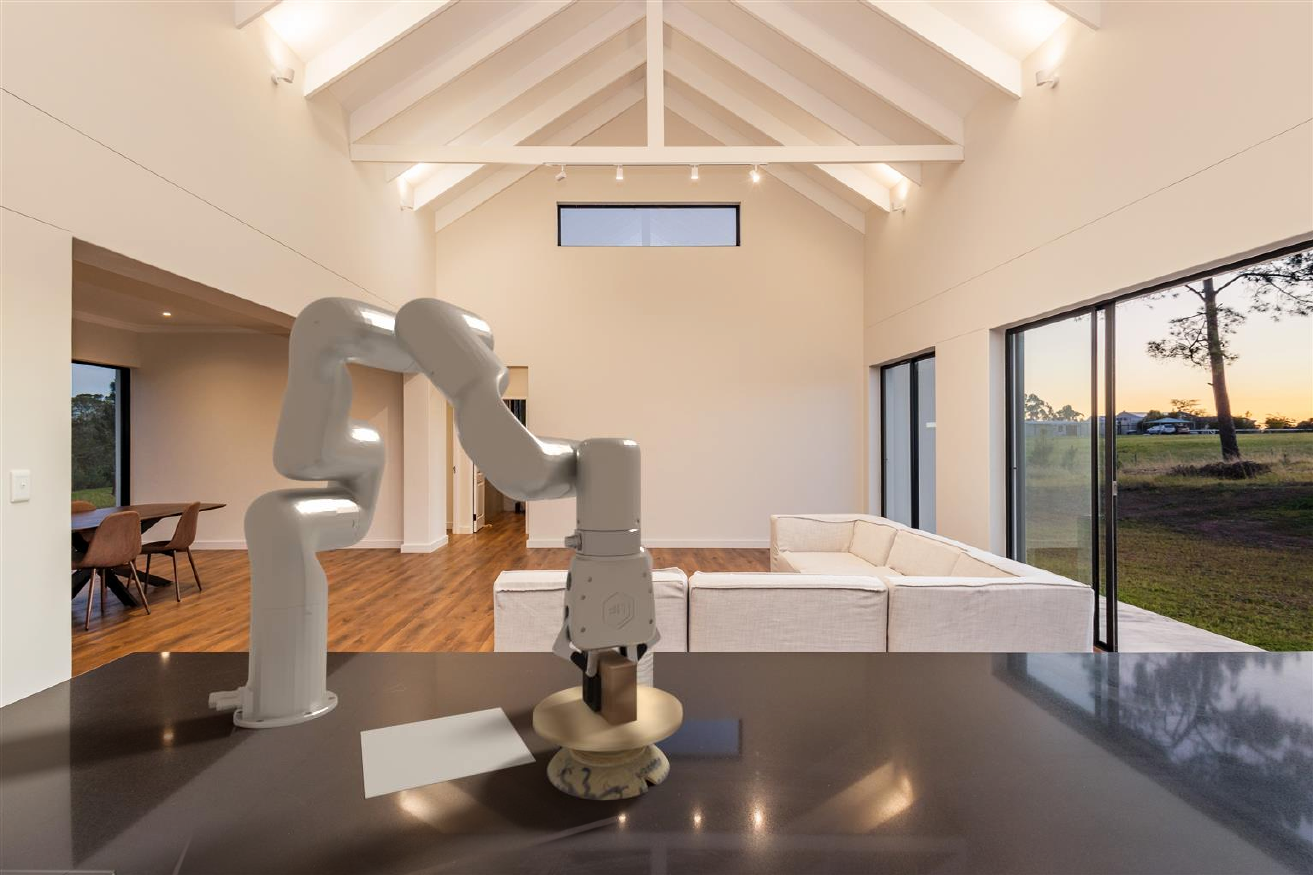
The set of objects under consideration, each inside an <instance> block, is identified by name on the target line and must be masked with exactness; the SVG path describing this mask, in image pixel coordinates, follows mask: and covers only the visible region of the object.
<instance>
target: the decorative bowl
mask: <svg viewBox="0 0 1313 875" xmlns="http://www.w3.org/2000/svg"><path fill="white" fill-rule="evenodd" d="M670 768H671V766H670V763H669V760H668V759H667V757H666V755H665V754H664V752H662V750H661V749H660V748H659V747H658V746H656V745H655V743H653V744H650V745H647V746H643V747H639V748H634V749H628V750H620V751H584V750H576V749H571V748H566V747H562V748H561V749H559V750H558V751H557V752H556V753H555V754H554V755H553V757H552V758H551V760H550V761H549V763H548V765H547V768H546V775H547V778H548V780H549V781H550V783H551V784H552V785H553V786H554V787H555V788H557V789H558V790H559V791H561V792H563V793H565V794H567V795H570V796H573V797H576V798H580V799H587V800H593V801H611V800H612V801H613V800H621V799H628V798H632V797H637V796H639V795H641V794H645V793H647V792H649V788H648V785H647V782H646V780H647V781H649V782H651V783H652V784H654V785H656V786H658V785H661V783H662V782H663V781H664V780H665V779H666V778H667V777H668V774H669V772H670Z"/></svg>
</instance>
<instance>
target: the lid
mask: <svg viewBox="0 0 1313 875" xmlns="http://www.w3.org/2000/svg"><path fill="white" fill-rule="evenodd" d="M597 669H598V675H599V676H600V677H601V710H600V711H599V712H594V711H593V710H592V709H591V708H590V707H589V706H588V705H587V704H586V703H585V702H584V701H583V696H582V685H579V686H574V687H569V688H566V689H563V690H560V691H558V692H555V693H552V694H551V695H548V696H547V697H545V698H543V699H542V700H541V701H539V703H537V705H536V706H534V710H533V712H532V726H533V727H532V728H533V729H534V731H535V733H536V734H537V735H538V737H540V738H542V739H543V740H544V741H547V742H549V743H551V744H553V745H556V746H559V747H562V748H563V747H566V748H571V749H576V750H584V751H620V750H628V749H634V748H639V747H643V746H647V745H650V744H656V743H659V742H661V741H663V740H665V739H667V738H669V737H671V736H672V735H673V734H675V733H676V732H677V731H678V730H679V728H680V727H681V725H682V723H683V720H684V719H683V718H684V717H683V716H684V715H683V705H682V703H681V702H680V701H679V699H678V698H676V697H675V696H674V695H672V694H671V693H669V692H666V691H664V690H662V689H659V688H657V687H656V688H655V687H653V688H652V687H648V686H643V685H637V664H635V663H634V662H632V661H631V660H629V659H628V658H626V657H625V656H623V655H622V654H620V653H619V652H617V651H615V650H614V649H612V648H608V649H601V650H599V653H598V664H597Z"/></svg>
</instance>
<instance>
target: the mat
mask: <svg viewBox="0 0 1313 875" xmlns="http://www.w3.org/2000/svg"><path fill="white" fill-rule="evenodd" d="M359 733H360V745H361V758H362V771H363V772H362V774H363V785H364V786H363V787H364V788H363V789H364V797H365V798H364V799H365V800H366V799H372V798H376V797H380V796H385V795H391V794H394V793H398V792H403V791H407V790H409V791H410V790H412V789H417V788H421V787H426V786H431V785H436V784H441V783H444V782H449V781H453V780H458V779H463V778H467V777H472V776H476V775H480V774H481V775H482V774H485V773H486V774H487V773H491V772H494V771H499V770H503V769H504V770H505V769H508V768H513V767H517V766H522V765H526V764H531V763H535V762H537V760H536V759H535V757H534V756H533V755H532V753H531V751H530V750H529V748H528V746H526V743H525V742H524V741H523V739H522V738H521V736H520V735H519V733H518V732H517V730H516V728H515V727H514V725H513V724H512V723H511V721H510V719H509V718H508V717H507V715H506V714H505V712H504V711H503V709H502V707H495V708H490V709H485V710H479V711H478V710H477V711H472V712H467V713H460V714H456V715H449V716H443V717H439V718H433V719H428V720H422V721H415V722H409V723H404V724H397V725H394V726H393V725H392V726H387V727H382V728H375V729H369V730H363V731H360V732H359Z"/></svg>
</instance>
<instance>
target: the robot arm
mask: <svg viewBox="0 0 1313 875" xmlns="http://www.w3.org/2000/svg"><path fill="white" fill-rule="evenodd" d="M288 342H289V343H288V373H287V374H288V376H287V383H286V388H285V391H284V395H283V400H282V405H281V410H280V414H279V420H278V423H277V428H276V431H275V438H274V442H273V448H272V449H273V450H272V463H273V468H274V469H275V470H276V472H277V473H278V474H279V475H280V476H282V477H284V478H286V479H288V480H293V481H300V482H327V485H326V486H327V487H297V488H296V487H293V488H292V487H291V488H283V489H277V490H273V491H269V492H268V491H267V492H266V493H263V494H262V495H260V496H258V497H257V498H256V499H254V500H253V501H252V502H251V504H250V505H249V506H248V508H247V509H246V512H245V514H244V519H243V520H244V521H243V530H244V538H245V542H246V547H247V553H248V554H247V555H248V560H249V568H250V569H249V570H250V601H249V602H250V604H249V605H250V614H249V616H250V617H249V619H250V622H249V649H248V652H249V653H248V677H247V678H248V679H247V681H246V684H245V686H238V688H237V689H236V690H230V691H226V690H225V691H224V690H222V691H217V692H211V693H210V694H209V696H208V697H209V698H208V708H209V709H213V708H216V711H217V712H219V711H225V710H229V709H235V708H237V709H236V710H235V711H234V712H233V724H234V725H235V727H242V728H248V729H275V728H281V727H286V726H293V725H297V724H300V723H304V722H308V721H311V720H314V719H316V718H319V717H322V716H323V715H326V714H328V713H329V712H331V711H333V709H335V708H336V707H337V705H338V695H337V694H336V693H334V692H332V691H330V690H327V657H328V656H327V652H328V651H327V650H328V620H329V618H328V616H329V614H328V612H329V584H328V579H327V578H328V577H327V575H326V572H325V570H324V568H323V567H322V565H321V563H320V560H319V559H318V557H317V555H316V553H319V552H325V551H331V550H338V549H339V550H340V549H345V548H348V547H353V546H354V545H356V544H358V543H359V542H361V541H362V540H363V539H364V538H365V537H366V535H367V534H368V532H369V530H370V527H371V525H372V522H373V520H374V516H375V512H376V506H377V502H378V498H379V494H380V489H381V484H382V479H383V476H384V471H385V466H386V460H387V459H386V458H387V450H386V444H385V440H384V437H383V435H382V433H381V432H380V430H379V429H378V428H377V427H376V426H375V425H374V424H372V423H370V422H368V421H366V420H363V419H359V418H358V419H357V418H350V415H351V414H350V413H351V410H352V409H351V408H352V404H353V403H354V402H353V401H354V395H355V393H354V392H355V391H354V383H353V379H352V375H351V373H350V370H349V368H348V366H347V364H349V363H352V364H358V365H362V366H367V367H371V368H374V369H375V368H377V369H382V370H387V371H392V372H395V373H396V372H397V373H404V374H423V375H424V376H426V378H427V379H428V380H429V381H430V383H431V384H432V385H433V386H434V387H435V389H436V390H437V391H438V393H440V395H441V396H442V397H443V398H444V399H445V401H447V403H449V405H450V407H452V409H453V423H454V427H455V430H456V431H455V432H456V436H457V438H458V442H459V444H460V446H461V448H462V450H464V453H465V454H466V455H467V457H468V459H469V460H471V462H472V463H473V465H475V467H476V468H477V469H478V470H479V471H480V473H481V474H482V475H483V476H484V478H486V480H488V482H489V483H490V484H491V485H492V486H493V487H495V489H496V490H498V491H499V492H500V493H502V494H503V496H505V497H507V498H509V499H511V500H514V501H516V502H517V501H518V502H536V501H544V500H546V501H547V500H549V501H550V500H553V501H554V500H561V499H568V498H569V499H570V498H575V497H576V503H575V504H576V507H575V508H576V509H575V510H576V511H575V512H576V513H575V514H576V515H575V518H576V519H575V520H576V521H575V523H576V525H575V529H574V533H573V534H571V535H568V536H565V537H564V541H563V542H564V547H565V549H572V550H574V552H575V555H573V556H571V557H570V560H569V566H568V570H567V575H566V580H565V588H564V595H563V596H564V597H563V606H562V607H563V609H562V611H563V612H562V626H561V629H560V631H559V633H558V635H557V638H556V639H555V641H554V643H553V645H552V648H551V650H552V653H554V654H555V655H556V656H557V657H559V658H562V659H564V660H567V661H570V662H572V663H573V664H574V665H575V666H577V668H579V669H580V670H581V671H582V682H581V684H582V685H581V686H582V696H583V701H584V702H585V703H586V704H587V705H588V706H589V707H590V708H591V709H592V710H593V711H594V712H599V711H600V710H601V677H600V676H599V675H598V669H597V664H598V653H599V650H601V649H608V648H615V647H618V652H619V653H620V654H622V655H623V656H625V657H626V658H628V659H629V660H631V661H632V662H634V663H635V664H637V666H638V661H639V660H640V659H641V658H642V656H643V655H644V654H645V652H646V651H647V649H648V648H651V647H652V646H653V647H654V646H655V645H656V644H657V643H658V642H660V641H661V639H662V636H661V633H660V631H659V629H658V627H657V625H656V624H657V622H656V621H657V617H656V604H655V603H656V602H655V601H656V600H655V591H654V590H655V589H654V582H653V574H652V575H651V569H650V564H649V559H648V555H645V554H641V544H642V494H641V493H642V453H641V448H640V445H639V443H638V442H637V441H635V440H633V439H631V438H623V437H593V438H591V437H590V438H587V439H584V440H576V439H570V438H562V437H553V436H545V435H544V436H541V435H534V434H533V433H532V432H530V431H529V429H528V428H526V427H525V425H524V424H522V422H521V421H520V420H519V419H518V418H517V417H516V416H515V414H514V413H513V412H512V411H511V410H510V408H509V407H508V406H507V404H506V403H505V401H504V400H503V398H502V397H503V396H504V395H505V393H506V391H507V389H508V388H509V386H510V381H511V374H510V371H509V368H508V367H507V366H506V364H504V362H503V361H502V360H501V359H500V358H499V357H498V356H497V355H496V354H495V353H494V348H495V338H494V333H493V331H492V328H491V327H490V326H489V323H487V321H486V320H485V319H483V318H482V317H481V316H480V315H479V314H476V312H475V313H474V312H472V311H470V310H468V309H464V308H461V307H460V306H456V305H454V304H452V303H449V302H447V301H444V300H441V299H436V298H432V297H421V298H415V299H412V300H409V301H407V302H406V303H404V305H402V306H401V307H400V308H399V309H398V311H397V312H396V311H391V310H389V309H385V308H383V307H381V306H377V305H376V304H375V305H374V304H371V303H368V302H365V301H361V300H357V299H353V298H348V297H340V296H328V297H322V298H319V299H316V300H314V301H312V302H310V303H309V304H308V305H307V306H305V307H304V308H303V309H302V310H301V311H300V312H299V314H298V315H297V317H296V318H295V320H294V322H293V324H292V326H291V330H290V335H289V341H288ZM570 644H572V645H573V646H574V647H575V648H576V649H575V648H573V647H571V645H570ZM577 649H578V650H579V651H578V650H577Z"/></svg>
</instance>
